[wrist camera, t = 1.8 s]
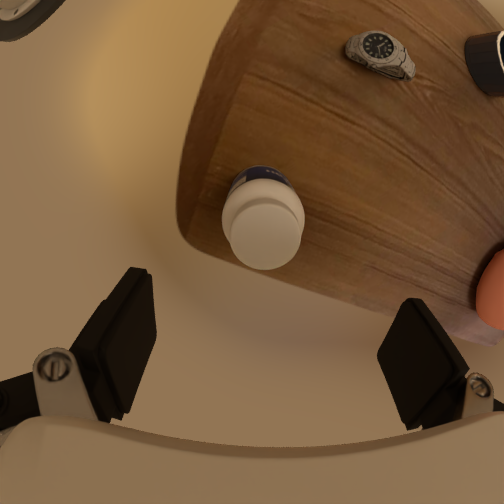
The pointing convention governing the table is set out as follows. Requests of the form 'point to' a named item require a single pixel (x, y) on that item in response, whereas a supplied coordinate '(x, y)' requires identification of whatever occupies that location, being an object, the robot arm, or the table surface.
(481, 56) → the cup
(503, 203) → the table surface
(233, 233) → the pill bottle
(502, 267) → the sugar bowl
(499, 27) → the table surface
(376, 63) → the wristwatch
